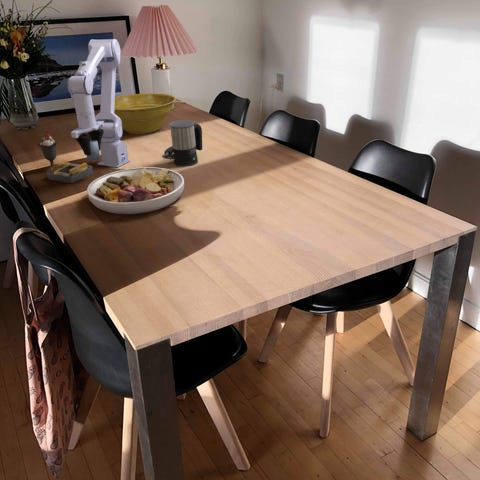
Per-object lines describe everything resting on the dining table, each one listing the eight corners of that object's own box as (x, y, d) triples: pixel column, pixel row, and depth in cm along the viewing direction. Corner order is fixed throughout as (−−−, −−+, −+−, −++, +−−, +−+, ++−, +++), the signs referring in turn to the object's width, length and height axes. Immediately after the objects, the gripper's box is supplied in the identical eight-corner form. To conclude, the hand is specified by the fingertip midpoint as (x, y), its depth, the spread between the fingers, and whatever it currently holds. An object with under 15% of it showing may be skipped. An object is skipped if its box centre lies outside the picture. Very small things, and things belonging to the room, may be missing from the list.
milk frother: (191, 167, 184) (188, 127, 177) (153, 164, 189) (148, 124, 182) (206, 155, 196) (204, 117, 189) (169, 152, 201) (166, 115, 194)
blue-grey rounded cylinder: (103, 157, 176) (100, 140, 174) (94, 161, 173) (91, 144, 170) (92, 156, 178) (89, 139, 175) (84, 160, 175) (81, 143, 172)
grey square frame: (93, 172, 183) (91, 162, 181) (72, 183, 174) (69, 172, 173) (69, 168, 187) (67, 158, 186) (48, 179, 179) (45, 168, 177)
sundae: (57, 173, 184) (48, 132, 177) (40, 172, 185) (31, 132, 178) (66, 167, 190) (57, 127, 183) (49, 166, 191) (41, 127, 184)
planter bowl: (117, 121, 245) (112, 93, 239) (183, 120, 243) (180, 91, 237) (98, 141, 217) (92, 110, 210) (172, 140, 215) (169, 108, 209)
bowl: (85, 189, 170) (80, 167, 166) (172, 175, 178) (170, 153, 175) (95, 226, 145) (90, 201, 141) (196, 207, 153) (194, 183, 150)
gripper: (80, 119, 161) (87, 160, 167) (108, 108, 172) (114, 147, 179) (62, 118, 164) (71, 158, 170) (92, 107, 175) (98, 145, 181)
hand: (92, 152), depth 174 cm, fingers closed on blue-grey rounded cylinder, 4 cm apart
